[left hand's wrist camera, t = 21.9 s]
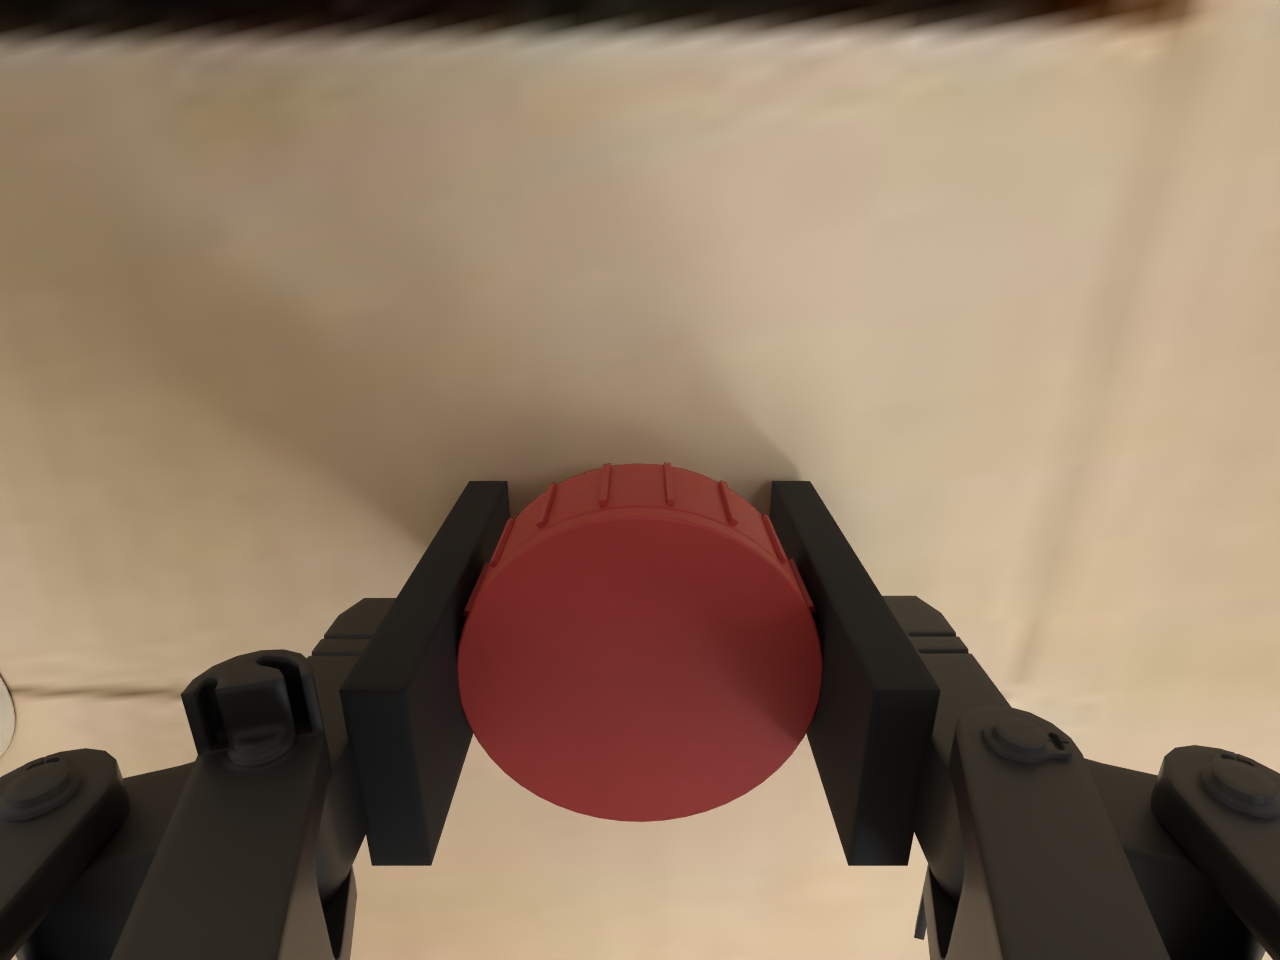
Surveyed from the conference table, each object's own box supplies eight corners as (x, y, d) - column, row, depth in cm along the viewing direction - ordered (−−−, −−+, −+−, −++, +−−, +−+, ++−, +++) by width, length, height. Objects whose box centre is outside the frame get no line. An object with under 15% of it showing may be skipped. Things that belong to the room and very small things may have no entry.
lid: (860, 551, 12) (905, 620, 10) (693, 774, 14) (702, 871, 12) (572, 398, 11) (558, 440, 9) (432, 659, 13) (393, 743, 11)
